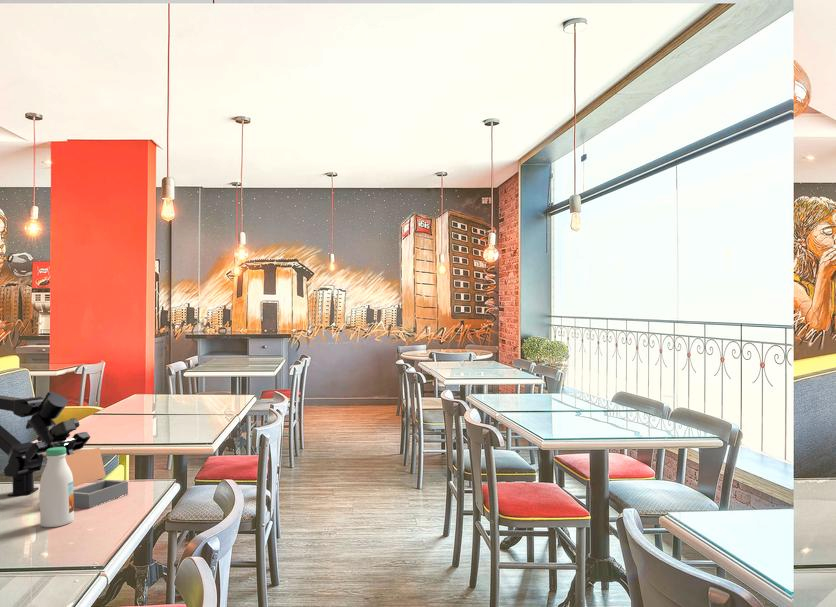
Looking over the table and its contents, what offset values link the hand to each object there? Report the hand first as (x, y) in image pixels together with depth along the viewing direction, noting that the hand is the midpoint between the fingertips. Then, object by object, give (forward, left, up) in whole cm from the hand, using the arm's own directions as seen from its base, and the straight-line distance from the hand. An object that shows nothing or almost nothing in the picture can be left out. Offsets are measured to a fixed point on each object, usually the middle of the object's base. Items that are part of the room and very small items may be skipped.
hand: (73, 466), depth 186 cm
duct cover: (+2, +4, 0) cm, 4 cm away
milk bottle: (+25, +5, -10) cm, 27 cm away
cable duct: (+5, +8, -10) cm, 14 cm away
